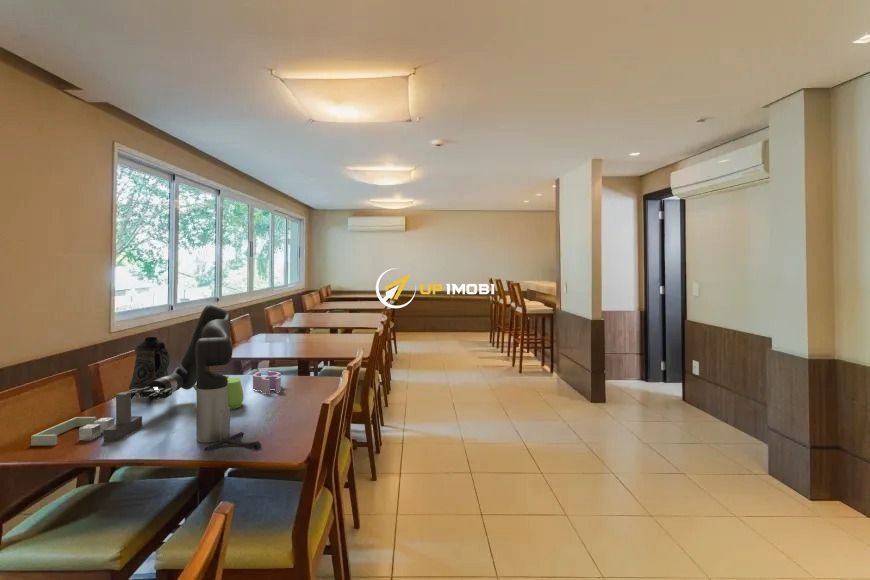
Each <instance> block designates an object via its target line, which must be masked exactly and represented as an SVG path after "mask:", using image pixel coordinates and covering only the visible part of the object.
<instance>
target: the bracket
mask: <svg viewBox="0 0 870 580" xmlns="http://www.w3.org/2000/svg"><path fill="white" fill-rule="evenodd" d="M243 435H244V432H243V431H240V432H238V433H236V434H233V435H231V436H228V437H226V438H225V439H224V440H222V441H216V442H214V443H212V444H211V445H208V446H206V447H205V448H204V451H206V450H207V451H213V450H219V449H224V448H232V447H233V448H234V447H243V448H248V449H253V448H254V449H253V450H260V449H262V444H261V442H260V441H259V440H256V441H251V442H243V441H242V438H243V437H244V436H243ZM255 448H256V449H255ZM259 448H260V449H259Z"/></svg>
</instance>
